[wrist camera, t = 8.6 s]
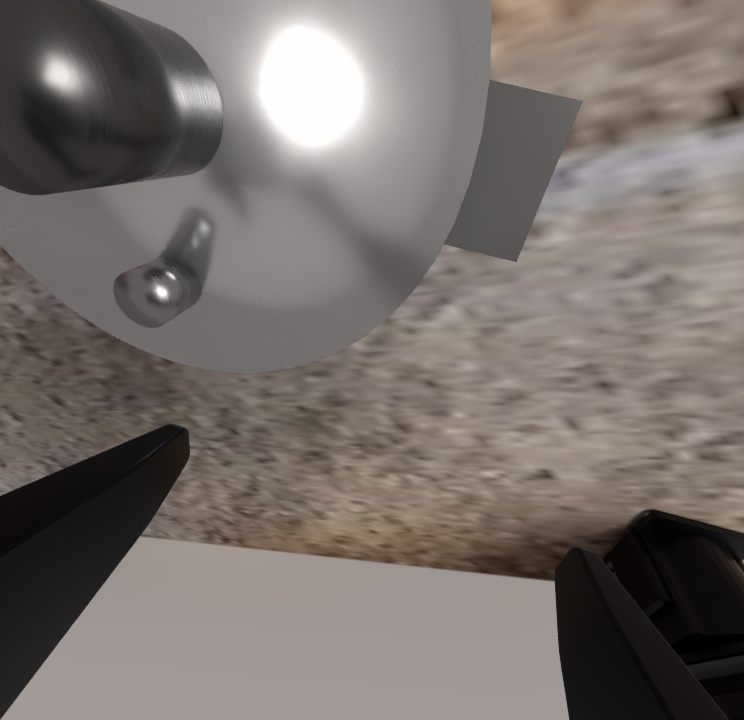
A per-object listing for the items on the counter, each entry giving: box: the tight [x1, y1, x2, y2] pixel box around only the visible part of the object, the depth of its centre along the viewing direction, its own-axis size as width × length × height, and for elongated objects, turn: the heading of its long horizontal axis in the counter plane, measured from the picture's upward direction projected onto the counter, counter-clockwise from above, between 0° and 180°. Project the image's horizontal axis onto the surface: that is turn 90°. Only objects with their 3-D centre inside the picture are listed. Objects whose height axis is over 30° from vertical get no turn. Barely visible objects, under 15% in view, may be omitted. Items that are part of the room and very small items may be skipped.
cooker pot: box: [444, 80, 582, 262], centre depth 13 cm, size 19×14×7 cm
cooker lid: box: [0, 0, 492, 373], centre depth 8 cm, size 15×15×5 cm
